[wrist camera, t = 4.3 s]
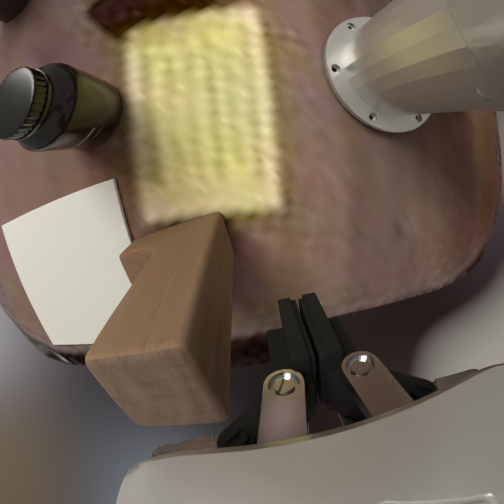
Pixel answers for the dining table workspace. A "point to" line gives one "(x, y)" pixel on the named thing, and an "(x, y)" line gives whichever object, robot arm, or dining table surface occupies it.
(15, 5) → the vinegar
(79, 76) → the supplement bottle
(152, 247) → the wooden block
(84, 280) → the off-white mat
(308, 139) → the dining table surface
